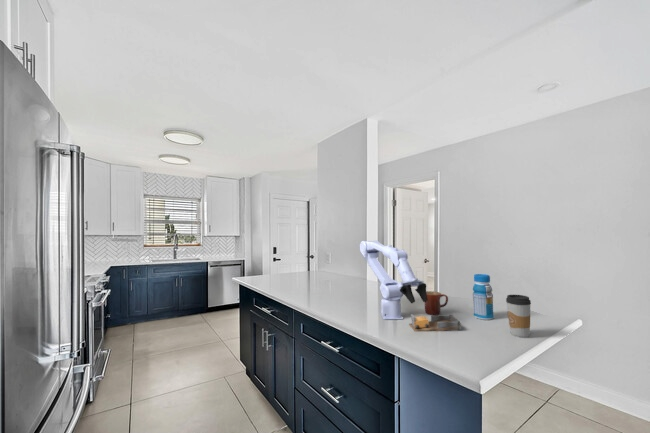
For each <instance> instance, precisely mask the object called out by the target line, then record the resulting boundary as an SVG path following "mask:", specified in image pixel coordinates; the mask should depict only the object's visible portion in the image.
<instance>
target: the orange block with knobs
mask: <svg viewBox="0 0 650 433" xmlns="http://www.w3.org/2000/svg"><path fill="white" fill-rule="evenodd" d="M410 318H411V323H412V325H413V326H414V328H417V329H418V328H423V327H429V322H428V321H429V319H428V318H427V317H426V316H425V315H423V316H415V315H414V314H413V313H412V314H411V313H410Z"/></svg>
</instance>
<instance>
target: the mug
mask: <svg viewBox="0 0 650 433" xmlns="http://www.w3.org/2000/svg"><path fill="white" fill-rule="evenodd" d="M426 294H427V299H428V301H426V302H424V312H425V314H426V315H429V316H440V314H441V310H442V309H441V308H444V307H446V306H447V305H448V303H449V297H448V295H446V294H444V293H441V292H438V291H433V290H431V291H427V290H426ZM442 297H445V301H444V303H443V304H441V298H442Z"/></svg>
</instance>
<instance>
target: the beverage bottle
mask: <svg viewBox="0 0 650 433" xmlns="http://www.w3.org/2000/svg"><path fill="white" fill-rule="evenodd" d="M473 281H474V284H473V287H472V290H473V293H472V300H473V316H474V318H476V319H477V320H478V319H479V320H485V321H486V320H488V321H490V320H493V319H494V317H495V316H494V294H493V293H492V292H493V288H492V286H491V285H490V283H491V276H490V275H489V274H482V273H477V274H476V273H475V274H474V275H473Z"/></svg>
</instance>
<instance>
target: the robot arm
mask: <svg viewBox="0 0 650 433" xmlns="http://www.w3.org/2000/svg"><path fill="white" fill-rule="evenodd" d="M359 251H360V253H361V254H362V256H363V258H364V259H365V261H366V263H367V264H368V266H369V267H370V269H371V270H372V272H373V274H374V275H375V276H376V278H377V280H378V281H379V283H380V286H379V290H380V292H381V295H382V298H381V300H380V316H381V318H382V319H383V320H404V317H403V316H402V307H401V303H402V302H401V301H402V300H401V299H402V297H403V296H404V297H406V299H407V300H408V302H410V304H414V303H415V302H416V299H415V297H414V294H413V290H412V287H416V289H415V292H416V293H417V294H418V295H419V297H420V299H421V301H422V302H423V303H425V302H426V301H428V299H427V294H426V292H427V284H426V283H425V281H424V280H420V279H419V278H417V277H416V275H415V274H414V271H413V269H412V268H411V265H410V263H409V261H408V258H409V257H408V256H409V255H408V253H407V251H406V250H405V249H398V247H394V246H392V245H391V244H389V245H384V244H383V243H381V242H380V241H379V240H362V241H360V243H359ZM380 252H381V253H382V255H383V257H386V258H387V259H390V262H391V263H392V264H393V265H394V267H396V268H397V271H398V273H399V275H400V277H401V280H402V281H400V282H398V281H397V280H395V279H392V278H391V277H390V275H389V274H388V272H387V271H386V269H385V268H384V266H382V264H381V263H380V261H379V260H378V257H380V256H379V255H380Z"/></svg>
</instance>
